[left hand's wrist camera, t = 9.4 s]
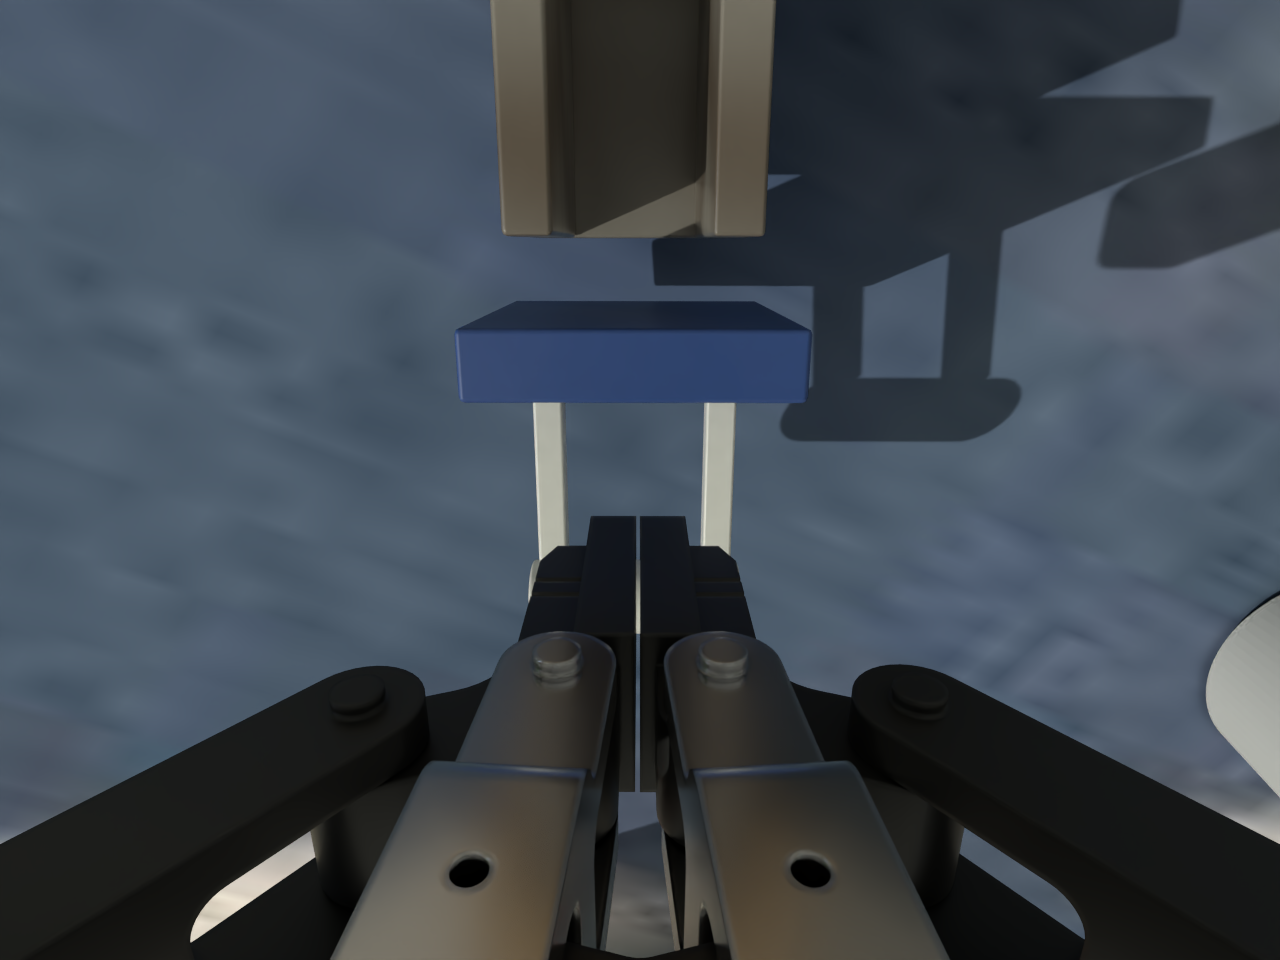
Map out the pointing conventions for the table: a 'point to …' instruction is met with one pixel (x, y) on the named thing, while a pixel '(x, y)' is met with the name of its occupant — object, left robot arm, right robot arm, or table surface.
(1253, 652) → the coffee cup
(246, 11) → the table surface
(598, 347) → the drawer
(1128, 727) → the table surface
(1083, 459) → the table surface
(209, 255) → the table surface
